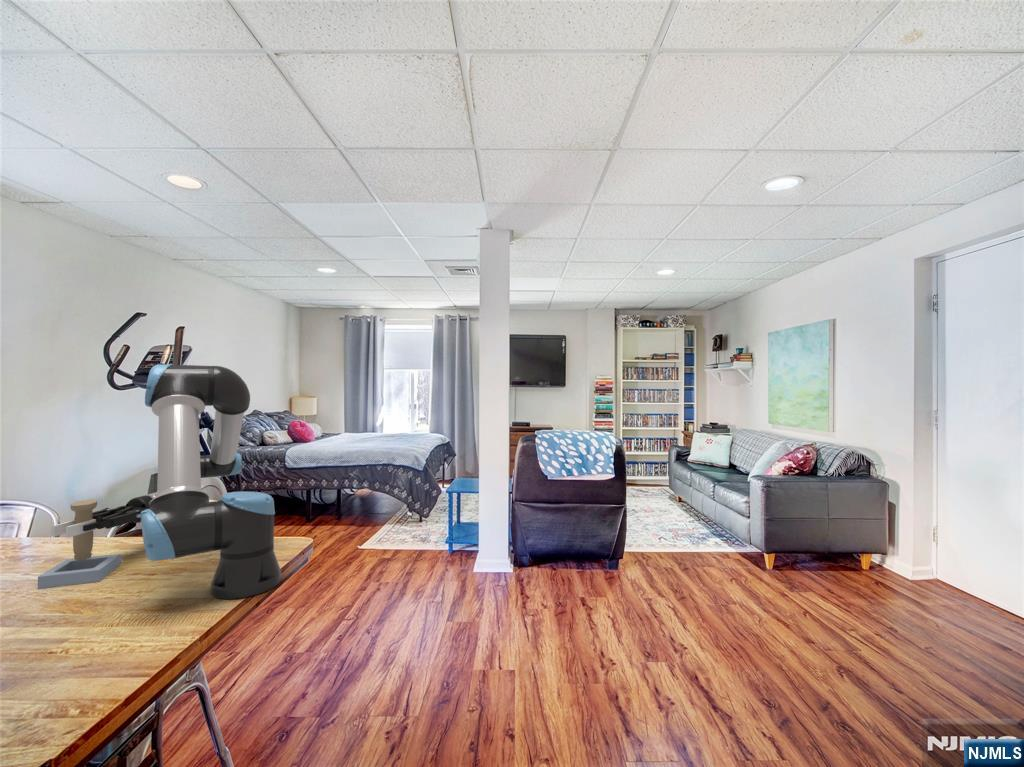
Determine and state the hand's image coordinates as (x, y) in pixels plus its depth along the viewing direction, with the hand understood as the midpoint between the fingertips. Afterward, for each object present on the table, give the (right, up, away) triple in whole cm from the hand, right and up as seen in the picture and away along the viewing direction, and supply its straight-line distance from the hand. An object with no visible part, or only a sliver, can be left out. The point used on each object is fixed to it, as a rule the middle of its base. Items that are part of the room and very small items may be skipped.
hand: (60, 531), depth 111 cm
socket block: (+1, -13, +5) cm, 14 cm away
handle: (+1, -9, +5) cm, 11 cm away
